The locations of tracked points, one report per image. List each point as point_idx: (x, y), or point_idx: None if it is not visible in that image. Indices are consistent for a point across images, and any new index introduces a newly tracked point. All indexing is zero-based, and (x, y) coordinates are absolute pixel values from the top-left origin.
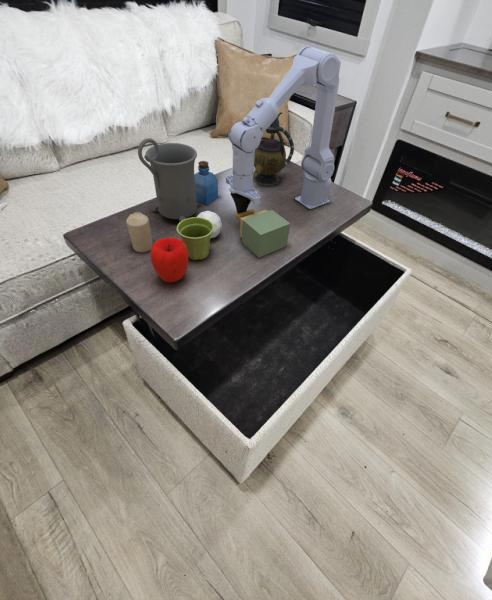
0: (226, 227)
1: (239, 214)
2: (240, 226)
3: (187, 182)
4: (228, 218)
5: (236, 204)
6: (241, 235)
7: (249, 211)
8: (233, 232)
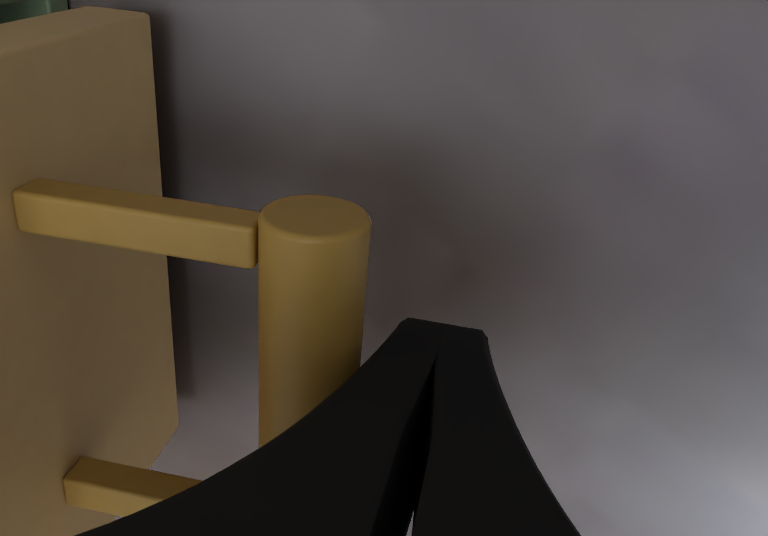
0: (557, 37)
1: (277, 295)
2: (3, 46)
3: None
4: (737, 246)
5: (441, 472)
6: (77, 13)
7: None
8: (363, 38)
